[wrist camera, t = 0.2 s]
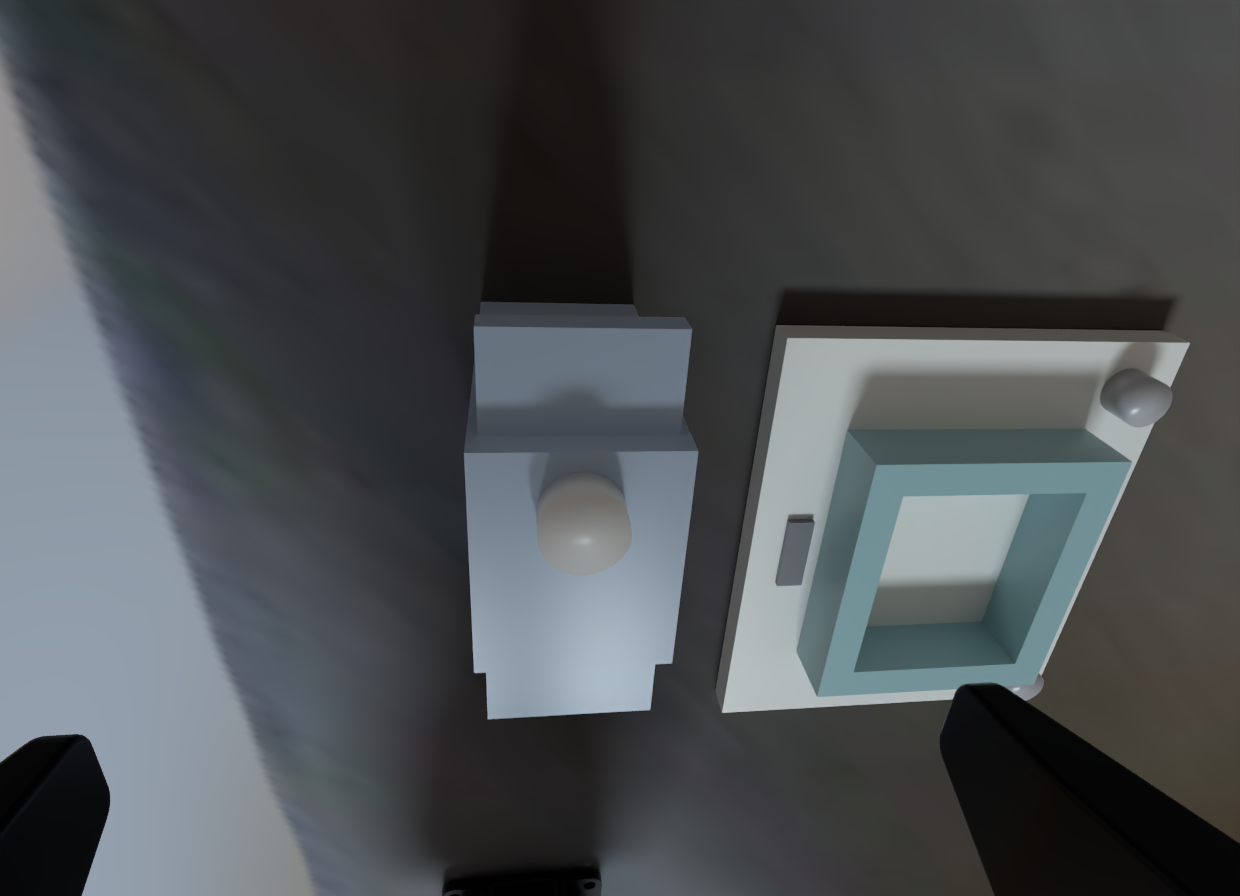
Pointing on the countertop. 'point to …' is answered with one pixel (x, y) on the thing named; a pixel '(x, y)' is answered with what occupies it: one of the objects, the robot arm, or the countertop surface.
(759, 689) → the chassis plate
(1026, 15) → the countertop surface
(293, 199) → the countertop surface
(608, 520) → the block
